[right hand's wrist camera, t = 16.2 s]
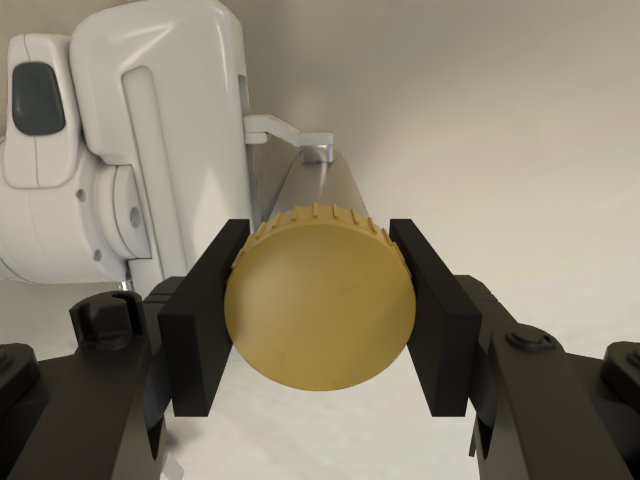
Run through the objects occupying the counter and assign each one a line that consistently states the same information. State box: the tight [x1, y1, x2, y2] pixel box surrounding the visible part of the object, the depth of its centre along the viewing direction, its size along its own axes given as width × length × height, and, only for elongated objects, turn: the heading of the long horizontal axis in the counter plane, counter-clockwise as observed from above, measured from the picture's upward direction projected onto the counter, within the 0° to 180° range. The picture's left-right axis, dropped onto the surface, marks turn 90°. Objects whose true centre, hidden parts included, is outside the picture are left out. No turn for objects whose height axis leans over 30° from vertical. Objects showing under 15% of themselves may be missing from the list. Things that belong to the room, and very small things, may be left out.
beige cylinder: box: [269, 150, 369, 220], centre depth 19 cm, size 4×4×18 cm
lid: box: [224, 203, 416, 391], centre depth 11 cm, size 5×5×2 cm
